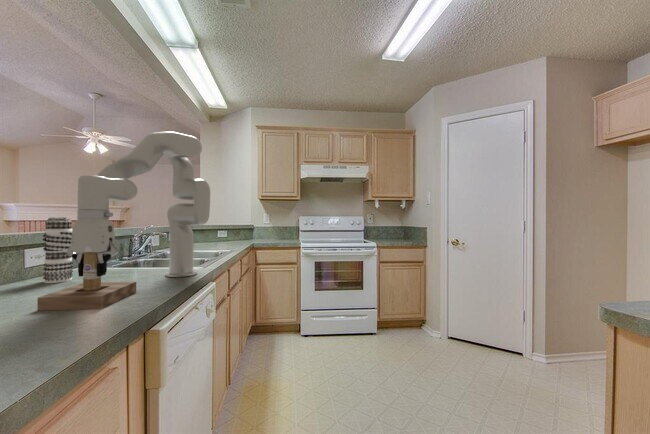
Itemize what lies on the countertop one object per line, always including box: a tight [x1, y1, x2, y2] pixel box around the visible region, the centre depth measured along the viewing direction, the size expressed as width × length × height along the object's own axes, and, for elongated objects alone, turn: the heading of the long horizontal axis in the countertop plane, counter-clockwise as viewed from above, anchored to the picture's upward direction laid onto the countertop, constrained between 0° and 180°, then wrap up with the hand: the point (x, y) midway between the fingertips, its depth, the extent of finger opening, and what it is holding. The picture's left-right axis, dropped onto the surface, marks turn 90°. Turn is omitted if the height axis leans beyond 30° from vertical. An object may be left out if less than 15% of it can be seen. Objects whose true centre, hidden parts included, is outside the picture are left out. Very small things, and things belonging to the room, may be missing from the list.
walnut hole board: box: [36, 281, 137, 311], centre depth 87 cm, size 18×16×4 cm
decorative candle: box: [42, 216, 74, 284], centre depth 112 cm, size 9×9×25 cm
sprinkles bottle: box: [82, 247, 102, 291], centre depth 87 cm, size 5×5×14 cm
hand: (92, 274), depth 87 cm, fingers closed on sprinkles bottle, 4 cm apart
